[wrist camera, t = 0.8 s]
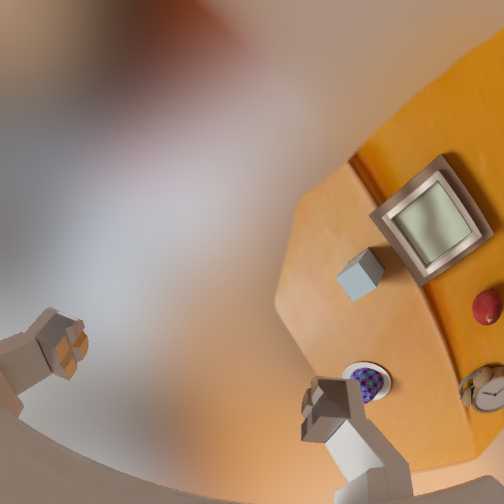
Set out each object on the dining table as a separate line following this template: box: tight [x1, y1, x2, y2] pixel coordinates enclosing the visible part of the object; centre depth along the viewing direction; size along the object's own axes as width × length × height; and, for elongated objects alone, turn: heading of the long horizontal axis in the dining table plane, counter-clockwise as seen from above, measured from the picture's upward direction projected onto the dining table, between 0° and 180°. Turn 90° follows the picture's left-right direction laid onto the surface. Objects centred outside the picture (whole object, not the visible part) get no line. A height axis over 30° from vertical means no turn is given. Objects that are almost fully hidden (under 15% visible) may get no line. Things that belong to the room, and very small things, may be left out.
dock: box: [369, 154, 494, 287], centre depth 40 cm, size 16×15×4 cm
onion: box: [473, 290, 503, 325], centre depth 35 cm, size 6×6×8 cm
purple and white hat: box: [342, 362, 391, 404], centre depth 56 cm, size 12×12×5 cm
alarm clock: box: [459, 366, 504, 413], centre depth 39 cm, size 11×5×15 cm
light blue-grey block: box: [335, 248, 385, 302], centre depth 48 cm, size 5×5×8 cm
